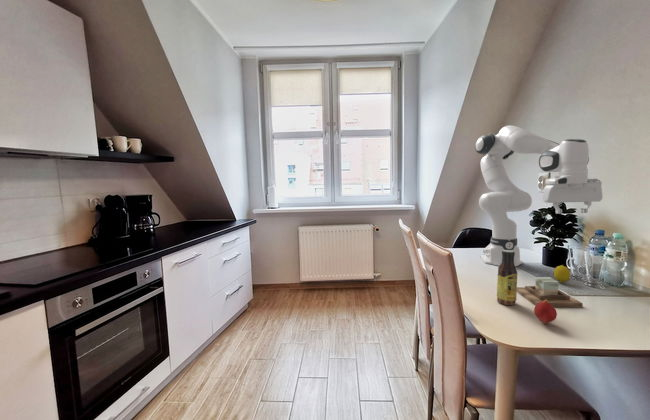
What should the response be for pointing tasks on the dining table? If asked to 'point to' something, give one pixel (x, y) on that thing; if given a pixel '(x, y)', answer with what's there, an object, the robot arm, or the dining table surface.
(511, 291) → the sauce bottle
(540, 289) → the block
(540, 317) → the red bumpy ovoid
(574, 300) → the socket board
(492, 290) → the dining table surface
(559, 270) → the lemon
